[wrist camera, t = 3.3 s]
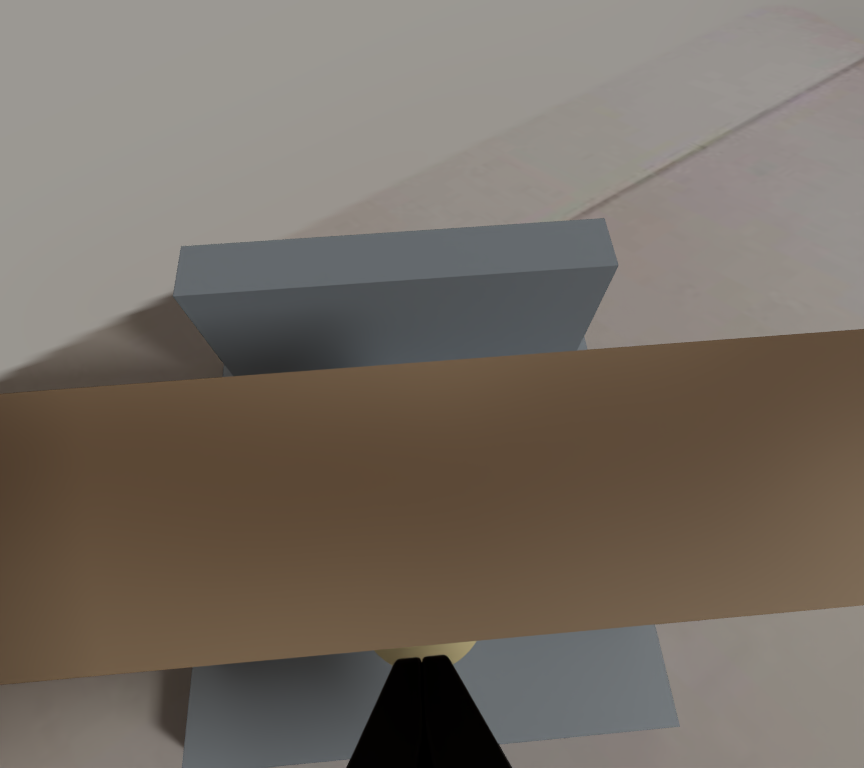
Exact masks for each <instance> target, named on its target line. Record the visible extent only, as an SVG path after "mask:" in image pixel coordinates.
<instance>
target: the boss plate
mask: <svg viewBox="0 0 864 768" xmlns="http://www.w3.org/2000/svg"><path fill="white" fill-rule="evenodd" d="M617 267H618V262H617V259H616V255H615V252H614V249H613V245H612V242H611V239H610V235H609V232H608V229H607V225H606V222H605V219H604V218H600V219H585V220H570V221H555V222H540V223H525V224H510V225H495V226H480V227H465V228H450V229H435V230H420V231H405V232H390V233H375V234H360V235H345V236H330V237H315V238H300V239H285V240H270V241H255V242H240V243H226V244H211V245H195V246H181V250H180V257H179V262H178V268H177V275H176V281H175V287H174V293H173V297H174V298H175V300H176V301H177V302H178V304H179V305H180V306H181V308H182V309H183V310H184V312H185V313H186V314H187V316H188V317H189V318H190V320H191V321H192V322H193V324H194V325H195V326H196V328H197V329H198V330H199V332H200V333H201V334H202V336H203V337H204V338H205V339H206V341H207V342H208V343H209V345H210V346H211V347H212V349H213V350H214V351H215V353H216V354H217V355H218V357H219V358H220V359H221V361H222V362H223V363H224V369H223V377H231V376H244V375H257V374H271V373H284V372H297V371H311V370H324V369H337V368H351V367H364V366H378V365H391V364H404V363H418V362H431V361H444V360H458V359H471V358H485V357H498V356H511V355H525V354H538V353H551V352H565V351H578V350H587V346H586V342H585V338H584V335H585V333H586V331H587V329H588V327H589V325H590V323H591V321H592V319H593V317H594V315H595V313H596V310H597V308H598V306H599V304H600V302H601V300H602V298H603V296H604V294H605V292H606V290H607V288H608V286H609V284H610V282H611V280H612V278H613V276H614V274H615V271H616V269H617ZM434 655H446V656H448V657H449V659H450V660H451V662H452V664H453V666H454V667H455V669H456V671H457V672H458V674H459V676H460V678H461V679H462V681H463V683H464V685H465V686H466V688H467V690H468V692H469V693H470V695H471V697H472V699H473V700H474V702H475V704H476V706H477V707H478V709H479V711H480V713H481V714H482V716H483V718H484V719H485V721H486V723H487V725H488V726H489V728H490V730H491V732H492V733H493V735H494V737H495V739H496V740H497V742H498V744H508V743H518V742H528V741H538V740H548V739H559V738H569V737H579V736H589V735H599V734H609V733H619V732H629V731H639V730H650V729H660V728H670V727H680V725H679V721H678V717H677V713H676V709H675V705H674V701H673V697H672V693H671V689H670V685H669V680H668V676H667V672H666V668H665V664H664V660H663V656H662V652H661V648H660V644H659V640H658V636H657V631H656V627H655V624H654V625H643V626H633V627H622V628H611V629H600V630H589V631H578V632H568V633H557V634H546V635H535V636H524V637H513V638H503V639H492V640H481V641H470V642H459V643H448V644H437V645H427V646H416V647H405V648H394V649H383V650H372V651H362V652H351V653H340V654H329V655H318V656H307V657H297V658H286V659H275V660H264V661H253V662H242V663H232V664H221V665H210V666H199V667H192V676H191V686H190V695H189V705H188V715H187V724H186V734H185V744H184V753H183V763H182V768H265V767H275V766H285V765H295V764H306V763H316V762H326V761H336V760H346V759H350V758H351V756H352V754H353V752H354V750H355V747H356V745H357V743H358V741H359V739H360V736H361V734H362V732H363V730H364V728H365V725H366V723H367V721H368V719H369V717H370V714H371V712H372V710H373V708H374V706H375V704H376V701H377V699H378V697H379V695H380V693H381V690H382V688H383V686H384V684H385V682H386V679H387V677H388V675H389V673H390V671H391V668H392V666H393V664H394V663H395V661H396V660H397V659H402V658H413V657H418V658H420V659H421V661H422V659H423V658H424V657H426V656H434Z"/></svg>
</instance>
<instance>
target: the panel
mask: <svg viewBox="0 0 864 768" xmlns="http://www.w3.org/2000/svg"><path fill="white" fill-rule="evenodd" d="M860 605H864V329H859V330H845V331H832V332H819V333H805V334H792V335H779V336H765V337H752V338H738V339H725V340H712V341H698V342H685V343H672V344H658V345H645V346H632V347H618V348H605V349H591V350H578V351H565V352H551V353H538V354H525V355H511V356H498V357H485V358H471V359H458V360H444V361H431V362H418V363H404V364H391V365H378V366H364V367H351V368H337V369H324V370H311V371H297V372H284V373H271V374H257V375H244V376H231V377H217V378H204V379H190V380H177V381H164V382H150V383H137V384H124V385H110V386H97V387H84V388H70V389H57V390H43V391H30V392H17V393H3V394H0V685H4V684H15V683H26V682H37V681H47V680H58V679H69V678H80V677H91V676H102V675H112V674H123V673H134V672H145V671H156V670H167V669H177V668H188V667H199V666H210V665H221V664H232V663H242V662H253V661H264V660H275V659H286V658H297V657H307V656H318V655H329V654H340V653H351V652H362V651H372V650H383V649H394V648H405V647H416V646H427V645H437V644H448V643H459V642H470V641H481V640H492V639H503V638H513V637H524V636H535V635H546V634H557V633H568V632H578V631H589V630H600V629H611V628H622V627H633V626H643V625H654V624H665V623H676V622H687V621H698V620H708V619H719V618H730V617H741V616H752V615H763V614H773V613H784V612H795V611H806V610H817V609H828V608H838V607H849V606H860Z"/></svg>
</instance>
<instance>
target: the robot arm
mask: <svg viewBox="0 0 864 768" xmlns="http://www.w3.org/2000/svg"><path fill="white" fill-rule="evenodd" d="M346 768H512V767H511V765H510V763H509V761H508V760H507V758H506V756H505V754H504V753H503V751H502V749H501V747H500V746H499V744H498V742H497V740H496V739H495V737H494V735H493V733H492V732H491V730H490V728H489V726H488V725H487V723H486V721H485V719H484V718H483V716H482V714H481V713H480V711H479V709H478V707H477V706H476V704H475V702H474V700H473V699H472V697H471V695H470V693H469V692H468V690H467V688H466V686H465V685H464V683H463V681H462V679H461V678H460V676H459V674H458V672H457V671H456V669H455V667H454V666H453V664H452V662H451V660H450V659H449V657H448V656H446V655H434V656H426V657H424V658H423V659H422V661H421V659H420V658H418V657H413V658H402V659H397V660H396V661H395V663H394V664H393V666H392V668H391V671H390V673H389V675H388V677H387V679H386V682H385V684H384V686H383V688H382V690H381V693H380V695H379V697H378V699H377V701H376V704H375V706H374V708H373V710H372V712H371V714H370V717H369V719H368V721H367V723H366V725H365V728H364V730H363V732H362V734H361V736H360V739H359V741H358V743H357V745H356V747H355V750H354V752H353V754H352V756H351V758H350V761H349V763H348V765H347V767H346Z"/></svg>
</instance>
